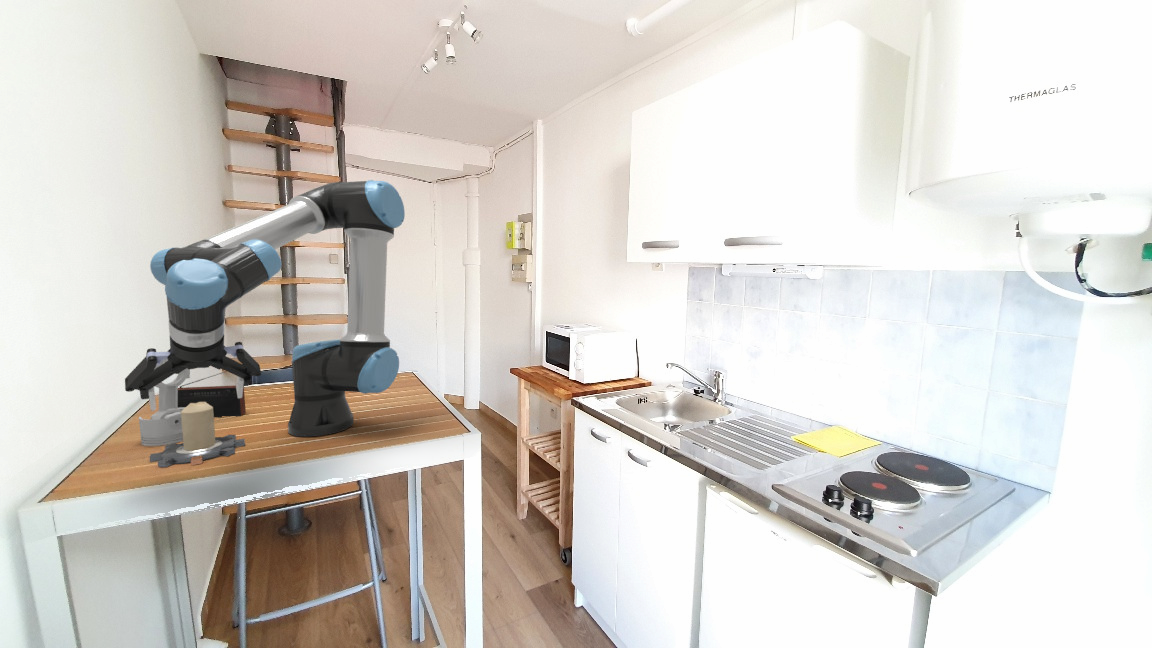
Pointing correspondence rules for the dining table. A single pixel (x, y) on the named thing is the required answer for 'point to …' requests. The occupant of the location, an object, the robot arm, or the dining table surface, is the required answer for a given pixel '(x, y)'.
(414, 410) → the dining table surface
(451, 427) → the dining table surface
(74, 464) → the dining table surface
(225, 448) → the sprocket
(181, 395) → the radio
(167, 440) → the engine component
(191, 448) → the candle
